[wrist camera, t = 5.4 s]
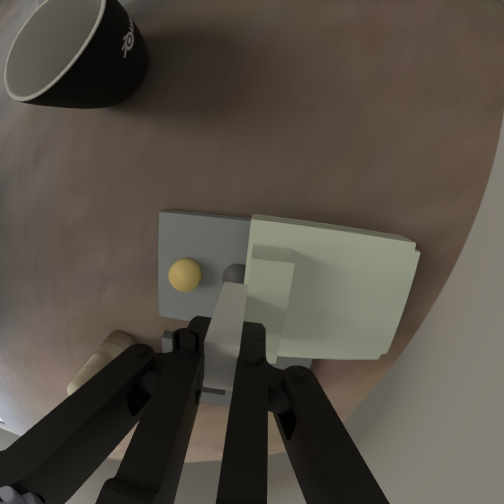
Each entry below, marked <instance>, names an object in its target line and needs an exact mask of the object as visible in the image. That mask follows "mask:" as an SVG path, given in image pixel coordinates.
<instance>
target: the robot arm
mask: <svg viewBox="0 0 504 504" xmlns="http://www.w3.org/2000/svg"><path fill="white" fill-rule="evenodd" d="M247 288H248V285H247V284H239V283H231V282H224V285H223V288H222V291H221V293H220V296H219V299H218V302H217V305H216V308H215V311H214V314H213V317H212V318H211V317H205V316H198V315H197V316H196V317H194V318H193V319H191V321H190V323H189V326H188V327H187V328H181V329H178V330H176V331H174V332H173V333H172V345H173V349H172V351H171V352H167V353H154V350H153V348H152V347H150V346H149V345H146V344H134V345H131V346H129V347H128V348H127V349H125V350H124V351H123V352H122V353H121V354H119V355H118V356H117V357H116V358H114V359H113V360H112V361H111V362H110V363H108V364H107V365H106V366H105V367H104V368H102V369H101V370H100V371H99V372H98V373H96V374H95V375H94V376H93V377H92V378H90V379H89V380H88V381H87V382H86V383H84V384H83V385H82V386H81V387H80V388H78V389H77V390H76V391H75V392H74V393H72V394H71V395H70V396H69V397H68V398H66V399H65V400H64V401H63V402H62V403H60V404H59V405H58V406H57V407H56V408H55V409H53V410H52V411H51V412H50V413H49V414H47V415H46V416H45V417H44V418H43V419H41V420H40V421H39V422H38V423H37V424H35V425H34V426H33V427H32V428H31V429H30V430H28V431H27V432H26V433H25V434H24V435H22V436H21V437H20V438H19V439H18V440H17V441H15V442H14V443H13V444H12V445H11V446H10V447H8V448H7V449H6V450H3V451H0V504H64V503H66V502H67V501H68V500H69V499H70V498H71V496H73V495H74V493H75V492H76V491H77V490H78V489H79V488H80V487H81V486H82V485H83V483H84V482H85V481H86V480H87V479H88V478H89V477H90V476H91V475H92V473H93V472H94V471H95V470H96V469H97V468H98V467H99V466H100V465H101V463H102V462H103V461H104V460H105V459H106V458H107V457H108V456H109V454H110V453H111V452H112V451H113V450H114V449H115V448H116V446H117V445H118V444H119V443H120V442H121V441H122V440H123V438H124V437H125V436H126V435H127V434H128V433H129V431H130V430H131V429H132V428H133V427H134V426H135V424H136V423H137V422H138V421H139V420H140V421H139V423H138V425H137V427H136V430H135V432H134V434H133V436H132V439H131V441H130V443H129V446H128V448H127V450H126V453H125V455H124V457H123V460H122V462H121V464H120V467H119V469H118V472H117V474H116V476H115V477H114V478H110V479H108V480H107V481H106V482H105V483H104V485H103V487H102V489H101V491H100V494H99V496H98V498H97V501H96V503H95V504H174V500H175V496H176V492H177V488H178V484H179V480H180V476H181V472H182V468H183V464H184V460H185V456H186V452H187V448H188V444H189V440H190V436H191V433H192V429H193V425H194V421H195V417H196V413H197V409H198V406H199V402H200V398H201V387H202V383H203V387H209V388H215V389H222V390H229V391H232V397H231V404H230V411H229V417H228V424H227V431H226V438H225V445H224V451H223V458H222V466H221V472H220V479H219V485H218V492H217V499H216V504H267V458H268V457H267V456H268V411H270V412H273V413H274V418H275V421H276V423H277V426H278V429H279V432H280V435H281V437H282V440H283V443H284V446H285V448H286V451H287V453H288V456H289V459H290V462H291V464H292V467H293V470H294V472H295V474H296V478H297V480H298V483H299V485H300V488H301V490H302V493H303V496H304V498H305V500H306V503H307V504H390V503H389V502H388V500H387V499H386V497H385V495H384V493H383V492H382V490H381V488H380V487H379V485H378V483H377V481H376V480H375V478H374V476H373V475H372V473H371V471H370V470H369V468H368V466H367V465H366V463H365V461H364V459H363V458H362V456H361V455H360V453H359V451H358V449H357V447H356V446H355V444H354V443H353V441H352V439H351V437H350V436H349V434H348V432H347V430H346V429H345V427H344V425H343V423H342V422H341V420H340V418H339V417H338V415H337V413H336V411H335V410H334V408H333V406H332V404H331V403H330V401H329V399H328V398H327V396H326V394H325V392H324V391H323V389H322V387H321V385H320V384H319V382H318V380H317V378H316V377H315V375H314V373H313V372H312V371H311V370H310V369H308V368H306V367H304V366H300V365H293V366H289V367H288V368H286V369H285V371H284V370H281V369H278V368H275V367H273V366H272V365H270V364H269V363H268V361H267V359H266V328H265V327H264V326H263V324H262V323H255V322H246V321H244V315H245V306H246V298H247Z"/></svg>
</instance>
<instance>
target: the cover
mask: <svg viewBox="0 0 504 504" xmlns="http://www.w3.org/2000/svg"><path fill="white" fill-rule="evenodd" d="M415 246H416V243H415V242H413V241H411V240H409V239H407V238H405V237H404V236H401V235H395V234H390V233H384V232H378V231H372V230H366V229H360V228H353V227H347V226H340V225H334V224H327V223H320V222H313V221H306V220H298V219H291V218H283V217H276V216H268V215H259V214H252V218H251V225H250V234H249V243H248V251H247V260H246V269H245V278H244V284H247V285H248V288H247V298H246V306H245V315H244V321H246V322H255V323H262V324H263V326H264V327H265V328H266V359H267V361H268V363H271V364H276V360H277V356H284V357H298V358H316V359H349V360H376V359H379V358H380V355H381V354H387V352H388V350H389V348H390V345H391V343H392V340H393V338H394V335H395V332H396V330H397V327H398V324H399V322H400V319H401V316H402V313H403V310H404V307H405V304H406V301H407V298H408V295H409V292H410V289H411V285H412V282H413V278H414V275H415V271H416V268H417V264H418V260H419V256H420V252H419V251H418V250H416V249H415Z"/></svg>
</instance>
